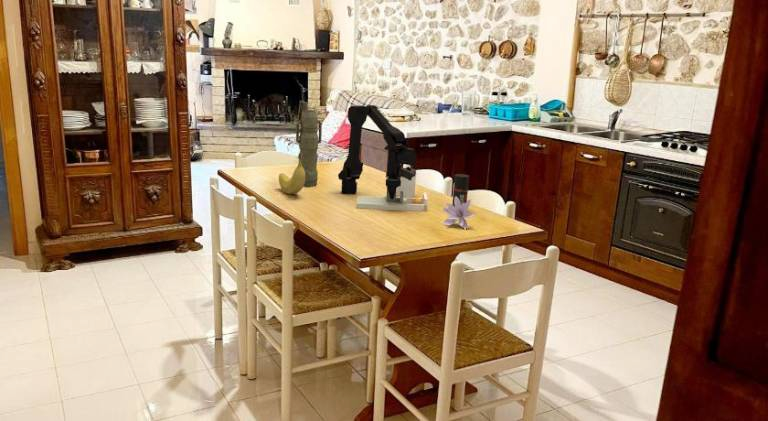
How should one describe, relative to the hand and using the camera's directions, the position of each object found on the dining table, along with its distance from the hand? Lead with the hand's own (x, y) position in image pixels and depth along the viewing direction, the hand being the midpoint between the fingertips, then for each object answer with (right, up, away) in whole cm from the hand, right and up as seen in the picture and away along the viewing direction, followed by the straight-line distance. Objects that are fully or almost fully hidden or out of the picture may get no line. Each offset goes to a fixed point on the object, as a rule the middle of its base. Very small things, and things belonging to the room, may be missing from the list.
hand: (392, 198), depth 260 cm
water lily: (+24, -11, -23) cm, 35 cm away
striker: (+1, -1, 0) cm, 2 cm away
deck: (-4, -3, +1) cm, 5 cm away
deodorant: (+28, -5, -1) cm, 29 cm away
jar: (+6, +1, +20) cm, 21 cm away
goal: (+10, -4, +1) cm, 11 cm away
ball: (+10, -2, 0) cm, 11 cm away
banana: (-45, +2, +12) cm, 46 cm away
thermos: (-40, +7, +31) cm, 50 cm away
